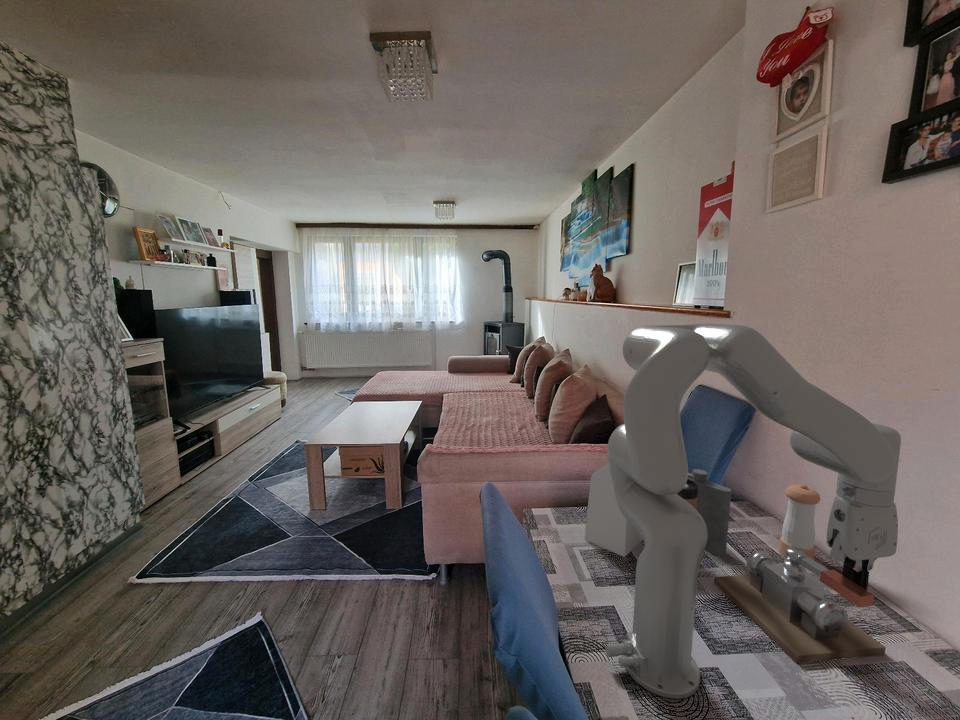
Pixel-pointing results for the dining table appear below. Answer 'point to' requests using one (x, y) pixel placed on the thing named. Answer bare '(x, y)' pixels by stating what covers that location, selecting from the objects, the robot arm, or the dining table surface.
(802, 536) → the salt shaker
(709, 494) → the hip flask
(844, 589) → the lever
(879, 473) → the robot arm
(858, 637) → the walnut board
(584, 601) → the dining table surface
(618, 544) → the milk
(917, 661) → the dining table surface
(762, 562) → the valve body
